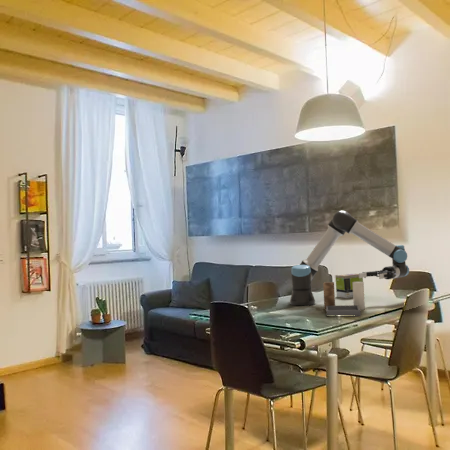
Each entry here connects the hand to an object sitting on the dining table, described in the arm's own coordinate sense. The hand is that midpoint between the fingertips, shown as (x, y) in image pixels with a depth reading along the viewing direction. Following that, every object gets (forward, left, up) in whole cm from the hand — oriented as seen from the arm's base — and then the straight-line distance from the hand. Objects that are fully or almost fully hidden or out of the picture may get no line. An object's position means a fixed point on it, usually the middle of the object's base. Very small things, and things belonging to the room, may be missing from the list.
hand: (369, 276), depth 283 cm
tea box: (-9, +45, -18) cm, 49 cm away
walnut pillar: (-23, -5, -17) cm, 29 cm away
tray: (-16, -21, -17) cm, 32 cm away
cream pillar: (-7, -7, -17) cm, 20 cm away
